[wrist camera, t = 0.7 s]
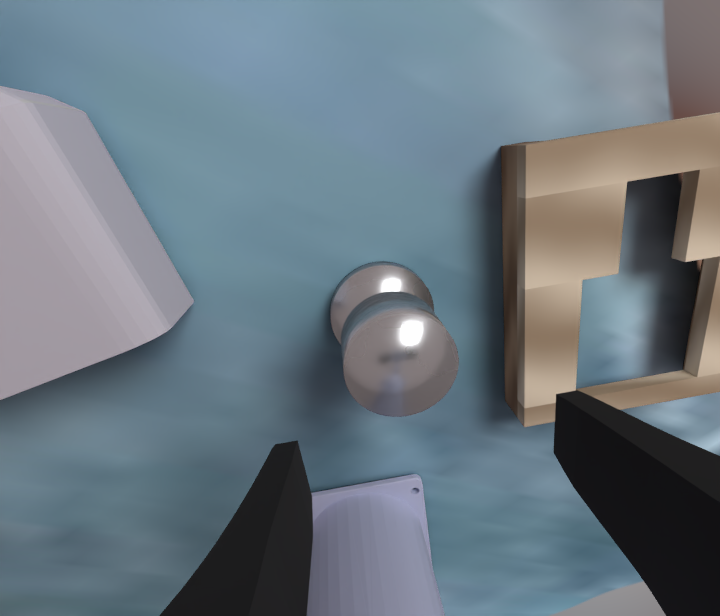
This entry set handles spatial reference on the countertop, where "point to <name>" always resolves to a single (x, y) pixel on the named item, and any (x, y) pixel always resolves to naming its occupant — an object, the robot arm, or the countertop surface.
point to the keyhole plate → (601, 255)
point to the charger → (72, 249)
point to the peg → (392, 340)
